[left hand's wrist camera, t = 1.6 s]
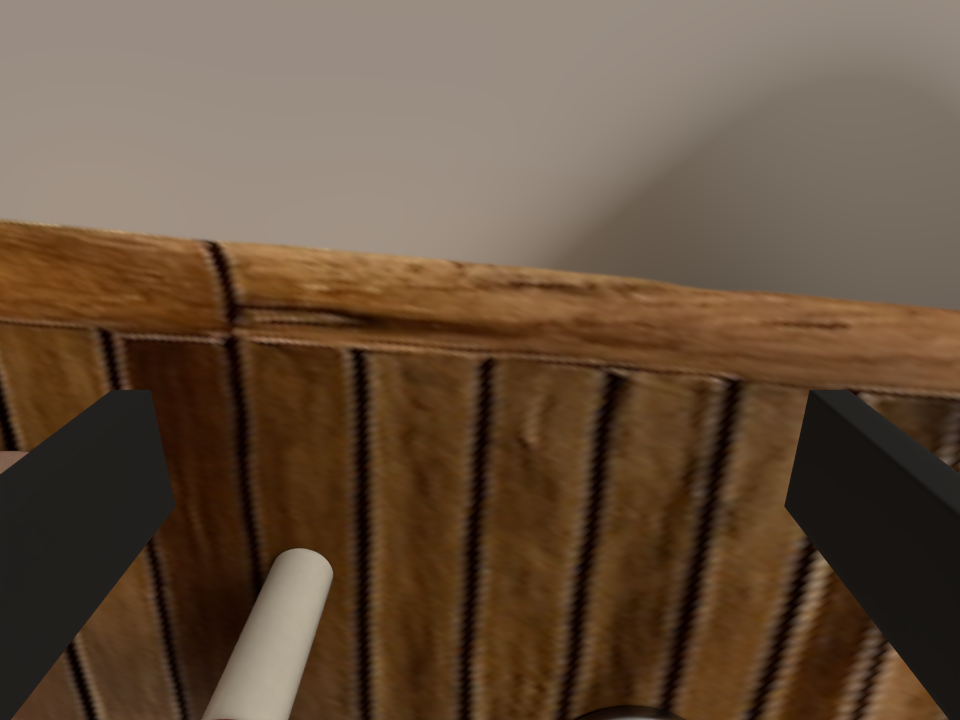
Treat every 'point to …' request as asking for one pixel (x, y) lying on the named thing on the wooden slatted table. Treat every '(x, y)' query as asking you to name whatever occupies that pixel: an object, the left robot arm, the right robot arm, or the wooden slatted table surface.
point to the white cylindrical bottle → (274, 641)
